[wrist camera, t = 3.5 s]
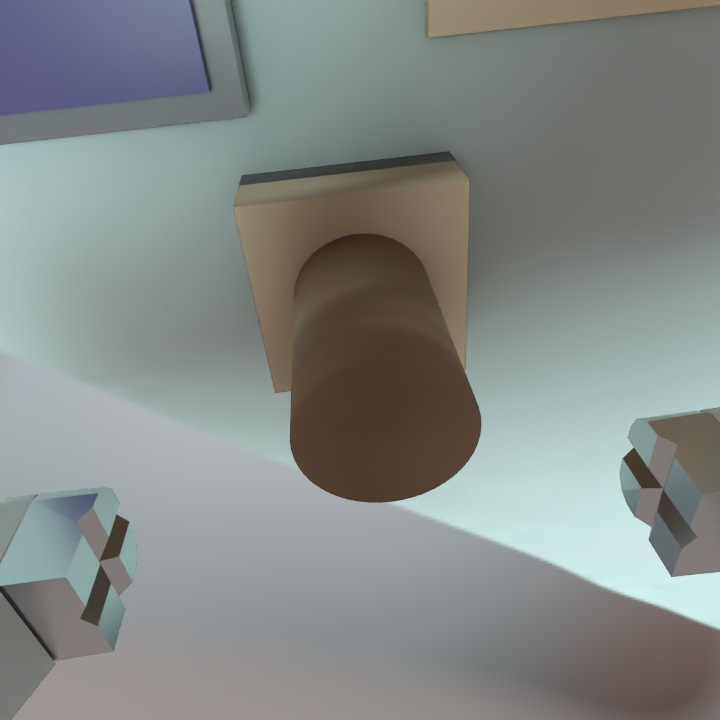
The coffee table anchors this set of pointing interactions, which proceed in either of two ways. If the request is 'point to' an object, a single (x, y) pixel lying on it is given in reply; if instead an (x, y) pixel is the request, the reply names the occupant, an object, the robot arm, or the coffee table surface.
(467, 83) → the coffee table surface
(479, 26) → the card sheet
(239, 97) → the ink pad
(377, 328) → the stamp
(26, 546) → the robot arm
